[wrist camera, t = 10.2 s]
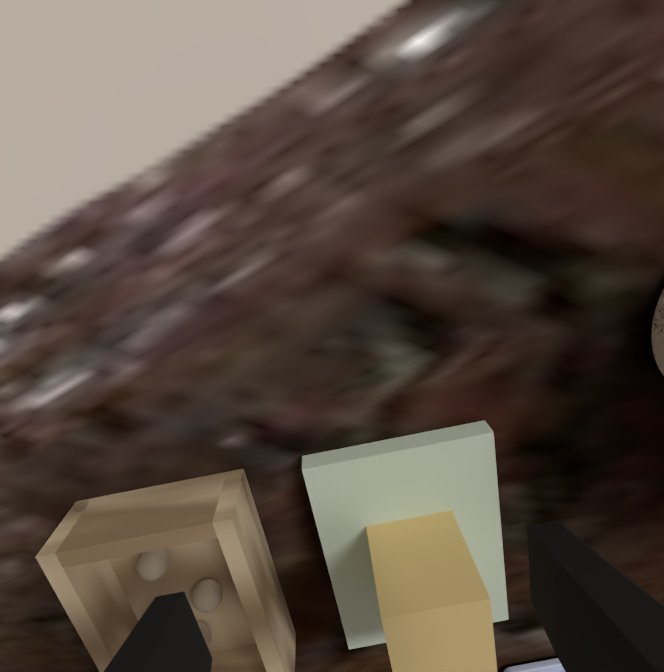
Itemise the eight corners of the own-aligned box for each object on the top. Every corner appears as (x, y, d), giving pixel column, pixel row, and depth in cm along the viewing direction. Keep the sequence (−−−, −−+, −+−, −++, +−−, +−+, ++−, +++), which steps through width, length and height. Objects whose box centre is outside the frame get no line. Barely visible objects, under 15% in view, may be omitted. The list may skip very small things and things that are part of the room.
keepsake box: (295, 633, 24) (293, 698, 21) (153, 660, 24) (131, 728, 21) (243, 468, 20) (231, 518, 17) (76, 501, 20) (35, 556, 17)
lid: (496, 593, 24) (554, 721, 18) (346, 622, 24) (358, 757, 18) (480, 414, 20) (547, 505, 14) (302, 449, 20) (299, 553, 15)
